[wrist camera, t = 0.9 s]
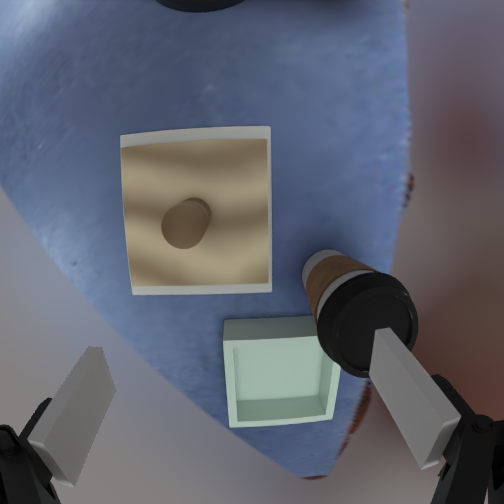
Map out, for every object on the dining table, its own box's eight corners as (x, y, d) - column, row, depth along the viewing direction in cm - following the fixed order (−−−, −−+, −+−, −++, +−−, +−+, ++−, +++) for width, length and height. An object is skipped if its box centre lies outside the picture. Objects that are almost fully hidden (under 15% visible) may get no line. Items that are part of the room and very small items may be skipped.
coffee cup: (308, 319, 38) (345, 398, 23) (278, 258, 36) (307, 319, 21) (369, 287, 37) (432, 348, 22) (345, 225, 35) (412, 262, 20)
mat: (122, 135, 31) (120, 135, 31) (269, 126, 32) (270, 126, 31) (134, 293, 36) (132, 294, 35) (271, 290, 36) (271, 292, 36)
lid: (124, 148, 31) (93, 143, 23) (265, 140, 32) (275, 130, 24) (134, 282, 35) (110, 312, 27) (267, 279, 35) (276, 310, 27)
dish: (224, 319, 37) (223, 340, 32) (332, 313, 38) (345, 333, 33) (229, 402, 40) (229, 427, 35) (323, 395, 41) (332, 419, 36)
